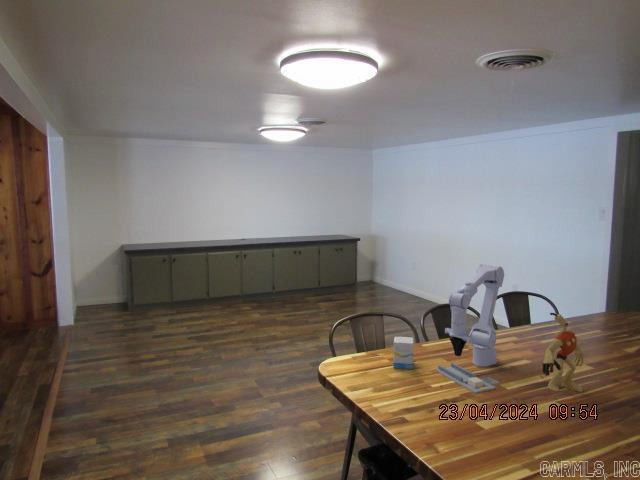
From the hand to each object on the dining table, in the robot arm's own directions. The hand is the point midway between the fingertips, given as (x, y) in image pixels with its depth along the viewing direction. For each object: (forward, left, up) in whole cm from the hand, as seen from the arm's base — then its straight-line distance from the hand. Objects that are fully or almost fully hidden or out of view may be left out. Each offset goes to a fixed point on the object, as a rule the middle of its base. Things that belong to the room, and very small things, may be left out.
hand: (458, 355), depth 177 cm
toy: (-27, +25, -10) cm, 38 cm away
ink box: (+12, -21, -10) cm, 26 cm away
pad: (-8, +9, -10) cm, 16 cm away
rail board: (0, +4, -10) cm, 11 cm away
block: (0, +8, -8) cm, 12 cm away
